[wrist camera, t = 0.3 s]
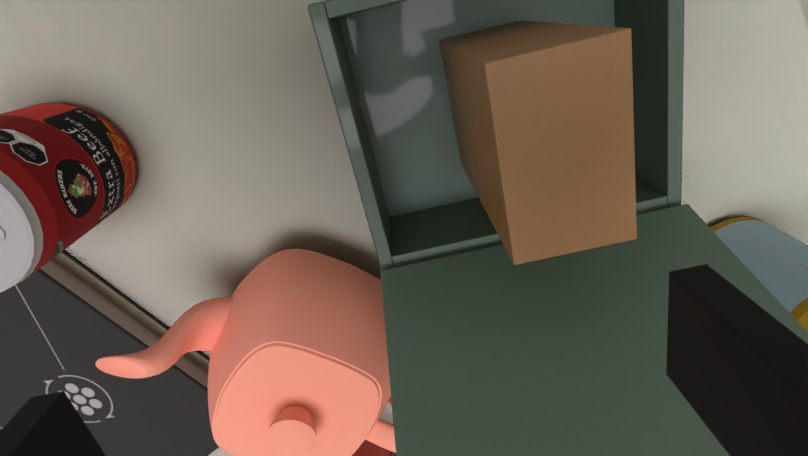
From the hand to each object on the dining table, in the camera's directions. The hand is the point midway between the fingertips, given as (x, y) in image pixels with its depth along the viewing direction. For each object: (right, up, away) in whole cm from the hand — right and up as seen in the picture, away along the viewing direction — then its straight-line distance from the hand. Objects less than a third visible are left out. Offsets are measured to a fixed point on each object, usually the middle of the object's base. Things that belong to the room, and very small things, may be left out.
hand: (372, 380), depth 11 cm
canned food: (-21, +8, +21) cm, 31 cm away
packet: (+6, +12, +20) cm, 24 cm away
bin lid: (+9, -2, +11) cm, 14 cm away
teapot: (-7, -3, +27) cm, 28 cm away
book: (-24, -8, +28) cm, 38 cm away
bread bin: (+6, +12, +21) cm, 25 cm away
